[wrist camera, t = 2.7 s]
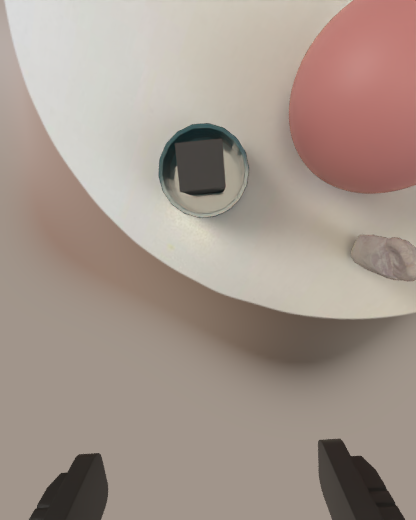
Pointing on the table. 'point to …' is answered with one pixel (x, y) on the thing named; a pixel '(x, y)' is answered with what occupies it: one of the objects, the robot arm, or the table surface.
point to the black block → (200, 166)
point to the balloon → (359, 98)
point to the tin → (233, 167)
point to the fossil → (386, 256)
